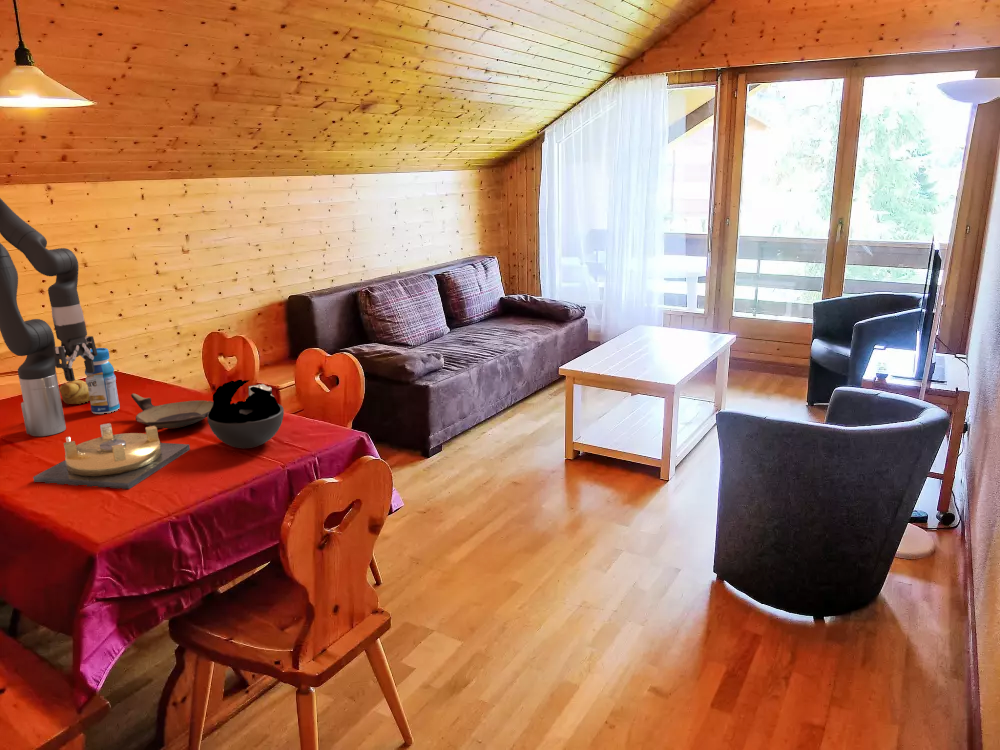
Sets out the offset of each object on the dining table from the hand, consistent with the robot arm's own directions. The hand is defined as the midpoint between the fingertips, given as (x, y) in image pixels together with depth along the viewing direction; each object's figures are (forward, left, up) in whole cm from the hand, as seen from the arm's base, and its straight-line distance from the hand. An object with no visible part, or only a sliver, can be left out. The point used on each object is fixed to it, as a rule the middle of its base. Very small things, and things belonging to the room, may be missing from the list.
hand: (80, 376), depth 209 cm
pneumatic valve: (+46, +17, -18) cm, 52 cm away
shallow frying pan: (+19, +13, -18) cm, 29 cm away
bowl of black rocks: (+51, -2, -18) cm, 54 cm away
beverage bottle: (-10, +20, -18) cm, 29 cm away
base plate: (+23, -20, -18) cm, 35 cm away
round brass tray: (+23, -20, -16) cm, 34 cm away
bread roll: (-26, +28, -18) cm, 43 cm away
